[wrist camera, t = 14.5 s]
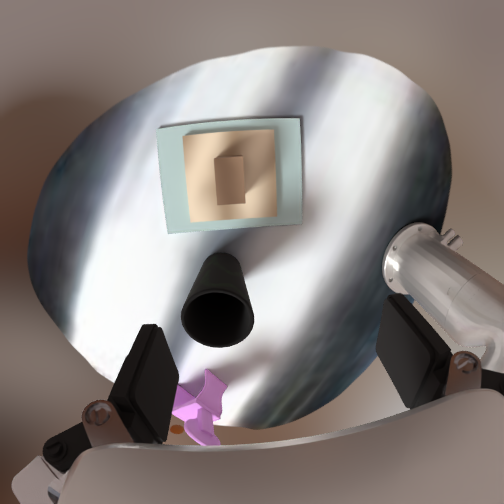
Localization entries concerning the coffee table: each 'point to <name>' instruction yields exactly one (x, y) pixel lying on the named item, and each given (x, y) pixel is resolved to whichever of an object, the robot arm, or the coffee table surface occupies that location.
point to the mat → (283, 128)
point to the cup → (218, 304)
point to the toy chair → (201, 410)
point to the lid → (230, 175)
